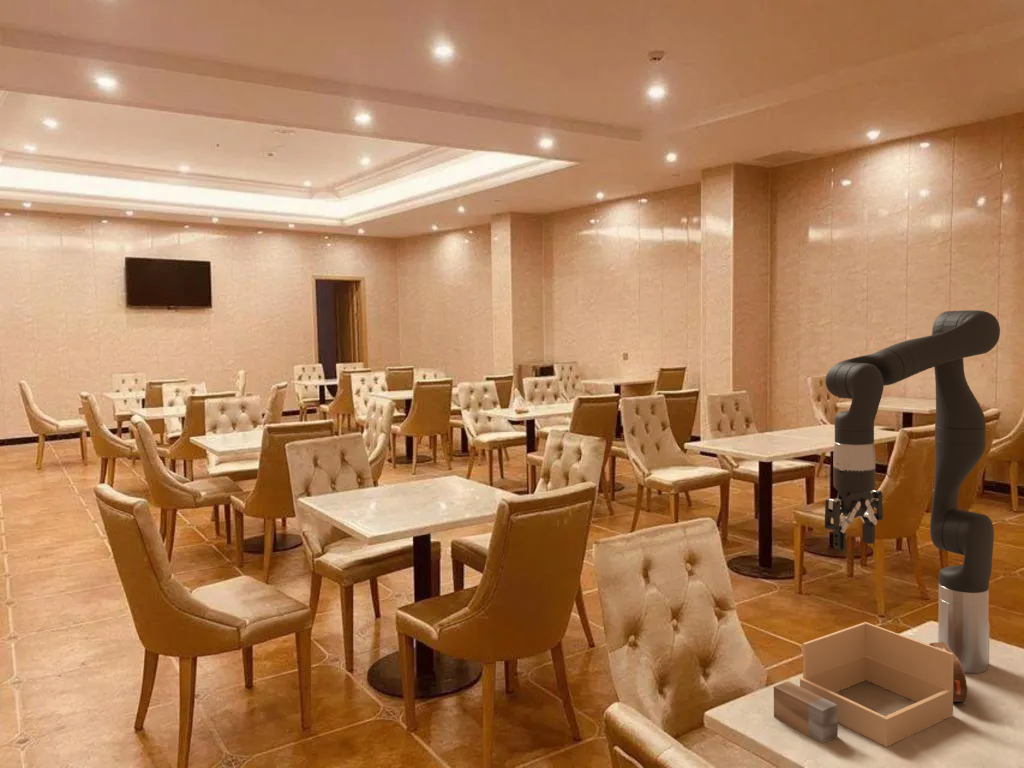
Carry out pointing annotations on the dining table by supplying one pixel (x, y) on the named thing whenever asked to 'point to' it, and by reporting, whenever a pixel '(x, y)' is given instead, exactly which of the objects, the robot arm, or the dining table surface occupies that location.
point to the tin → (955, 675)
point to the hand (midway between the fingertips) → (854, 546)
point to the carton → (880, 679)
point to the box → (806, 711)
